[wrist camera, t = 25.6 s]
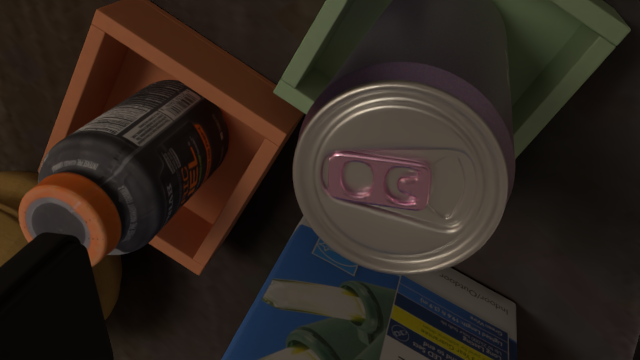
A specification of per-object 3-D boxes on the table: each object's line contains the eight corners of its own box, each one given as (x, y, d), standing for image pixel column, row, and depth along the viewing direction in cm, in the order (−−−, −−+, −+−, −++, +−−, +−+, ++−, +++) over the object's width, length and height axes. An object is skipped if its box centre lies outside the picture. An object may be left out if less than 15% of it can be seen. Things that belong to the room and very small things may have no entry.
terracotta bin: (139, -7, 32) (96, 8, 28) (309, 106, 32) (287, 134, 29) (79, 143, 37) (36, 172, 34) (225, 238, 38) (198, 276, 34)
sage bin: (413, -131, 26) (401, -130, 23) (614, 8, 27) (632, 30, 23) (296, 68, 32) (272, 92, 28) (465, 180, 32) (462, 218, 29)
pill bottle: (222, 189, 36) (119, 312, 26) (129, 156, 36) (-6, 264, 26) (240, 96, 33) (131, 196, 23) (138, 62, 33) (-10, 144, 23)
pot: (14, 290, 45) (-101, 392, 36) (-34, 142, 39) (-182, 219, 31) (160, 310, 42) (73, 426, 33) (129, 154, 37) (17, 243, 28)
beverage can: (382, -29, 28) (284, 62, 15) (517, -19, 27) (538, 89, 14) (373, 96, 31) (284, 262, 18) (495, 109, 30) (495, 299, 17)
